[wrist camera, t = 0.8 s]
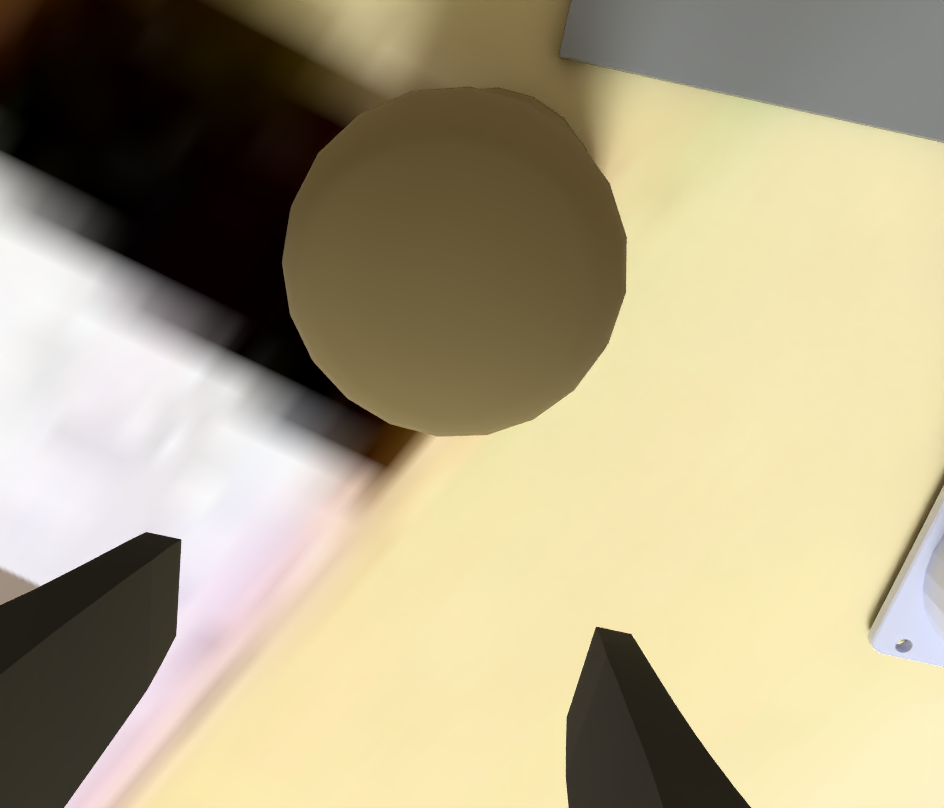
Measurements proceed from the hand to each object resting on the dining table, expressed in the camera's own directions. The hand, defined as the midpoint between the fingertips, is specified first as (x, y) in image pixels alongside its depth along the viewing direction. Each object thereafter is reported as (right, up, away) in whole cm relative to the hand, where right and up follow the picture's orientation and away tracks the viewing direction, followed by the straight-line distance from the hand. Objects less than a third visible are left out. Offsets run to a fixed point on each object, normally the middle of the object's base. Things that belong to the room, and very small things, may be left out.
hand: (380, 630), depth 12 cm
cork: (+2, +9, +8) cm, 12 cm away
